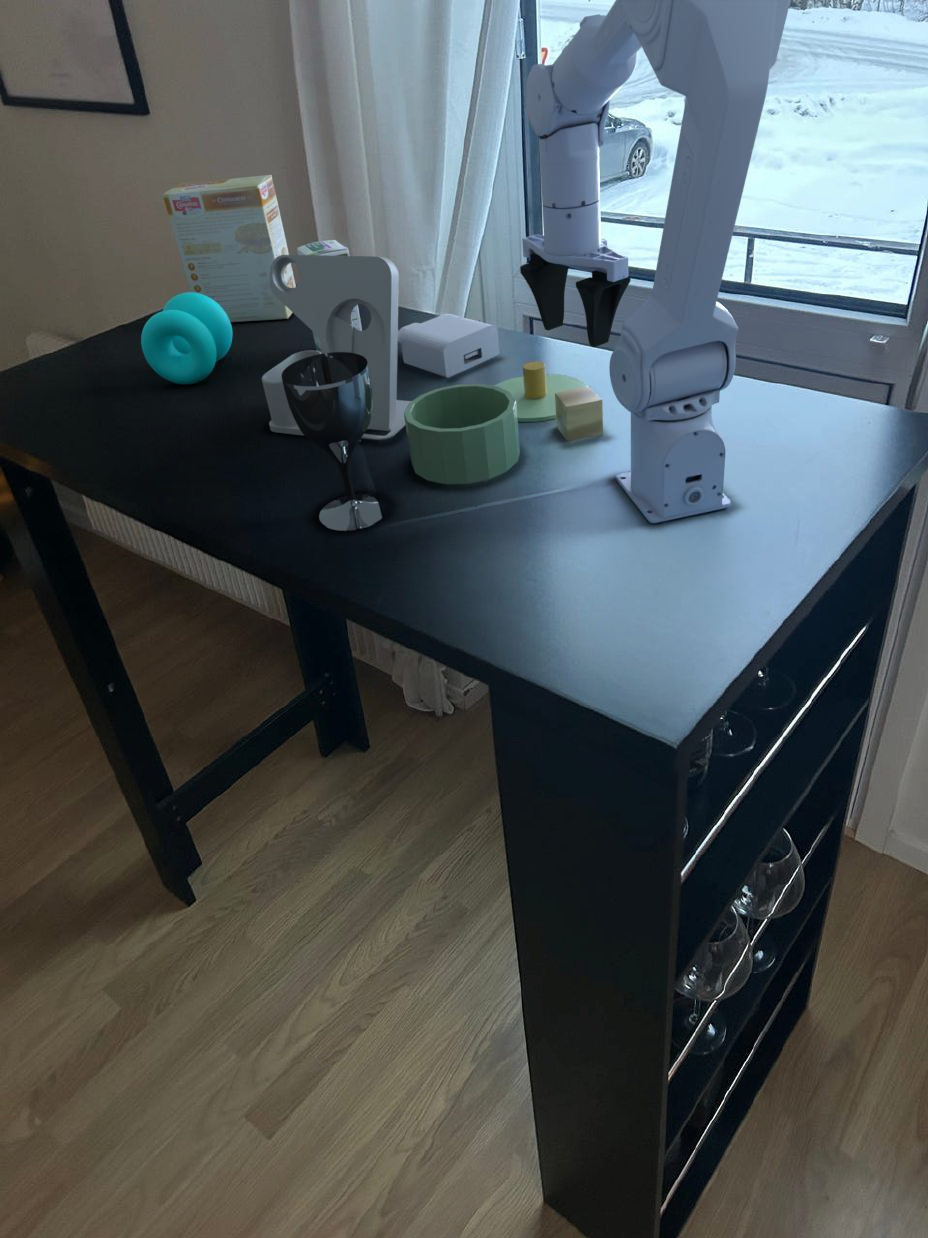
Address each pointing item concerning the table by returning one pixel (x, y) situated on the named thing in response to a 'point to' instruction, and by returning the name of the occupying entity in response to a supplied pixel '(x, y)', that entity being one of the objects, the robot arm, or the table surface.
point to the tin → (463, 433)
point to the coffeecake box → (231, 243)
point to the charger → (448, 344)
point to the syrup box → (331, 250)
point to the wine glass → (335, 424)
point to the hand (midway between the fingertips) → (575, 335)
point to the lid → (538, 391)
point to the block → (579, 413)
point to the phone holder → (342, 328)
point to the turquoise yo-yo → (187, 338)
